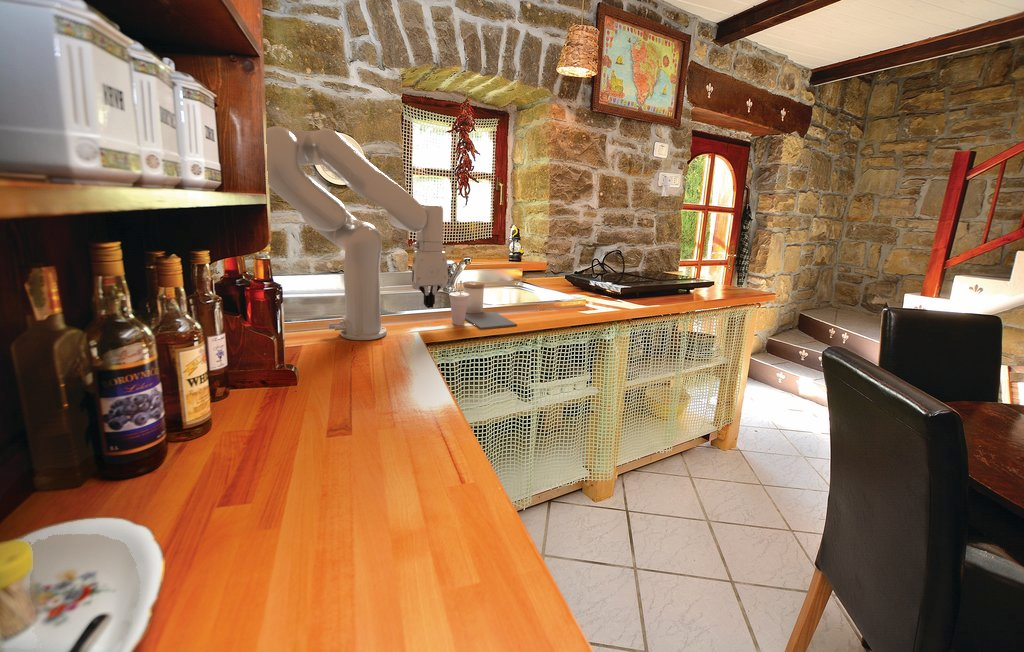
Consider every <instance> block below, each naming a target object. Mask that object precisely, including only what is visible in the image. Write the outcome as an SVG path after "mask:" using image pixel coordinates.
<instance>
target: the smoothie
mask: <svg viewBox="0 0 1024 652" xmlns="http://www.w3.org/2000/svg"><path fill="white" fill-rule="evenodd" d="M462 287H463V280H460V281H459V291H453V292H449V294H448V297H449V299H450V300H449V301H450V312H451V321H452V322H451V323H452V325H454V324H455V325H454V326H463V325H462V324H464V325H465V321H466V320H465V316H466V314H467V313H466V309H467V303H468V298H469V294H468V293H464V292H462V291H463V290H462V289H463V288H462Z"/></svg>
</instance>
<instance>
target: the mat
mask: <svg viewBox="0 0 1024 652" xmlns="http://www.w3.org/2000/svg"><path fill="white" fill-rule="evenodd" d="M465 321H467V322H468V323H470V324H471V323H472V324H471V325H473V324H475V325H476V326H477V327H478V328H477V327H476V326H475V327H476V328H477V329H479V330H487V329H490V330H491V329H498V328H499V329H500V328H508V327H518V323H516V322H515V321H512V320H511V319H508V318H507V317H505V316H503V315H501V314H499V313H498V312H495V311H489V312H488V311H487V312H482V313H474V314H469V313H466V316H465Z"/></svg>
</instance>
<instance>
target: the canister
mask: <svg viewBox="0 0 1024 652" xmlns="http://www.w3.org/2000/svg"><path fill="white" fill-rule="evenodd" d="M462 287H463V290H462V291H463V292H464V293H468V294H469V298H468V303H467V309H466V314H474V313H484V290H485V282H482V281H481V282H480V281H476V280H475V281H472V280H470V281H469V280H468V281H463V282H462Z"/></svg>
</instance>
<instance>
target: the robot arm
mask: <svg viewBox="0 0 1024 652" xmlns="http://www.w3.org/2000/svg"><path fill="white" fill-rule="evenodd" d="M265 129H266V144H267V171H268V183H267V184H268V185H269V187H270V189H272V191H273V192H274V193H275V194H276V196H278V197H280V198H281V199H282V200H284V201H285V202H286V203H287V204H288V205H290V206H291V207H292V208H293V209H294V210H296V211H297V212H298V213H300V215H301V217H302V219H303V220H304V222H305V223H306V224H307V225H308V226H310V228H312V229H313V230H315V231H316V232H318V233H319V234H320V235H321V236H322V237H324V238H326V240H329V242H331V243H332V244H334V245H335V246H336V247H338V248H339V249H340V250H342V251H344V262H343V282H344V283H343V284H344V285H343V286H344V305H345V306H344V309H345V317H342V320H339V321H338V322H337V321H336V322H334V321H332V322H327V329H328V330H334V331H340V336H341V337H342V338H344V339H347V340H353V341H370V340H377V339H381V338H383V337H385V336H386V335H387V331H388V330H387V328H386V327H385V326H382V318H381V317H382V315H381V314H382V311H381V310H382V308H381V259H382V258H381V257H382V252H383V251H382V250H383V238H382V236H381V233H380V232H379V230H378V229H377V228H376V226H374V225H373V224H372V223H369V222H367V221H364V220H359V219H357V218H356V217H355V216H353V215H352V213H349V212H348V211H347V209H346V207H345V205H344V203H343V202H342V201H341V200H340V199H338V198H337V197H336V196H334V195H333V194H332V193H330V192H329V191H328V190H327V189H325V188H324V187H323V186H322V185H320V184H319V183H318V182H316V181H315V180H314V179H313V178H312V177H311V176H310V175H309V174H307V172H305V170H304V169H303V167H302V166H321V165H322V166H324V168H326V169H327V170H328V171H329V172H331V174H333V175H334V176H335V177H336V178H337V179H339V180H340V181H341V182H343V183H344V184H345V186H347V187H348V188H349V189H350V190H352V192H354V193H356V194H357V195H358V196H360V197H361V198H363V199H366V200H367V201H369V202H371V203H374V204H375V205H377V206H378V207H380V208H381V209H383V210H384V211H386V212H387V213H386V215H387V216H386V217H387V220H388V222H389V223H390V225H392V226H393V227H395V228H397V229H400V230H404V231H407V232H411V233H413V232H415V233H416V240H415V242H412V243H411V247H412V248H414V249H416V250H415V251H414V252H413V259H412V268H411V282H412V283H411V288H412V289H413V290H418V291H420V292H421V293H422V294H423V305H424V307H426V308H427V309H434V305H435V304H436V301H435V299H436V295H437V293H438V292H439V291H440V289H445V288H447V284H448V281H449V272H448V271H449V270H448V261H447V254H446V251H444V250H443V239H444V238H443V237H444V235H443V234H444V232H443V231H444V209H443V206H442V205H441V204H437V203H420V202H418V201H417V200H416V199H415V197H413V196H412V195H411V194H410V193H409V192H408V191H407V190H406V189H404V188H403V187H402V186H401V185H399V184H398V183H397V182H395V181H394V180H392V179H391V178H390V177H389V176H387V175H386V174H385V173H383V172H382V171H381V170H379V169H378V168H377V167H376V166H375V165H373V164H372V163H371V162H370V161H369V160H368V159H367V158H366V157H365V156H363V155H362V153H360V152H359V151H358V150H357V149H356V148H355V147H354V146H353V145H352V144H350V142H348V141H347V140H346V138H344V137H343V136H342V135H341V134H340V133H339V132H337V131H336V130H333V129H330V128H320V129H318V130H293V129H287V128H285V127H283V126H280V125H279V126H278V125H275V126H269V127H267V128H265Z"/></svg>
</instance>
